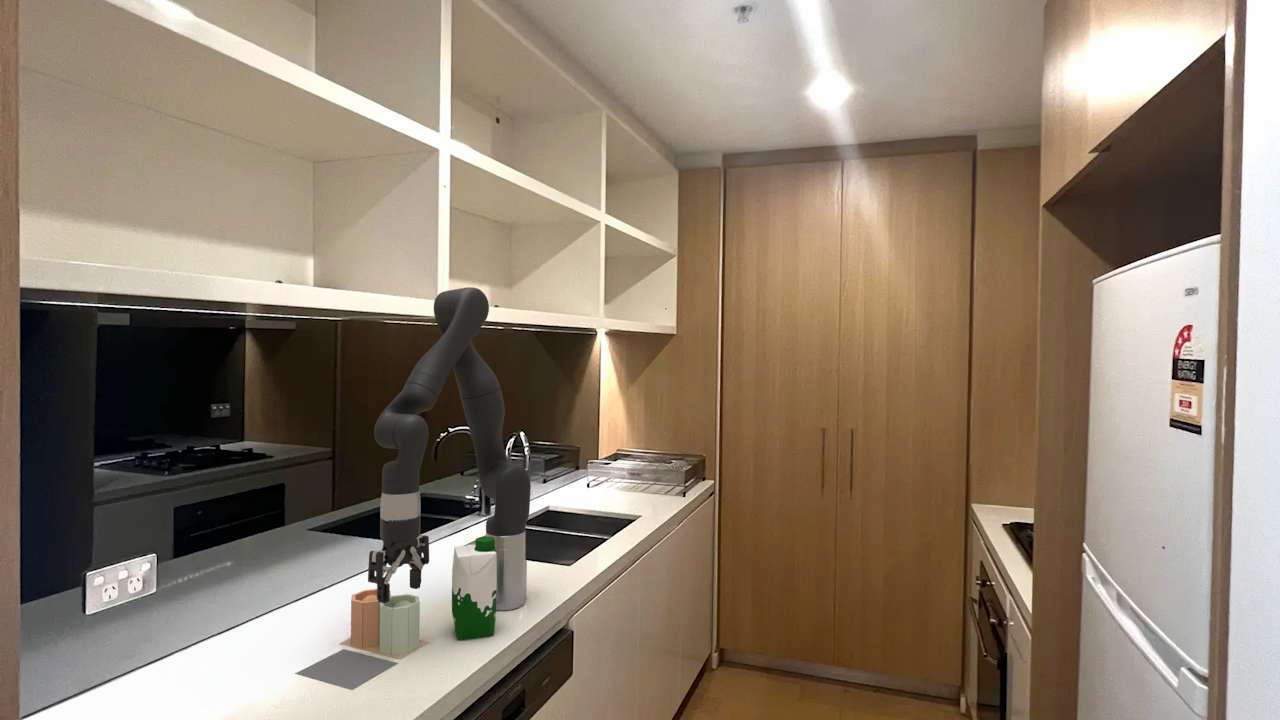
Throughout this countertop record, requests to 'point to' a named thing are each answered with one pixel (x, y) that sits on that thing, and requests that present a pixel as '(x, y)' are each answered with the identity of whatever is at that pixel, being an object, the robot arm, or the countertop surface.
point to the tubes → (385, 625)
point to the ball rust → (370, 598)
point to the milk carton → (474, 589)
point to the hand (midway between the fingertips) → (399, 594)
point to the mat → (347, 669)
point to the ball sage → (402, 604)
